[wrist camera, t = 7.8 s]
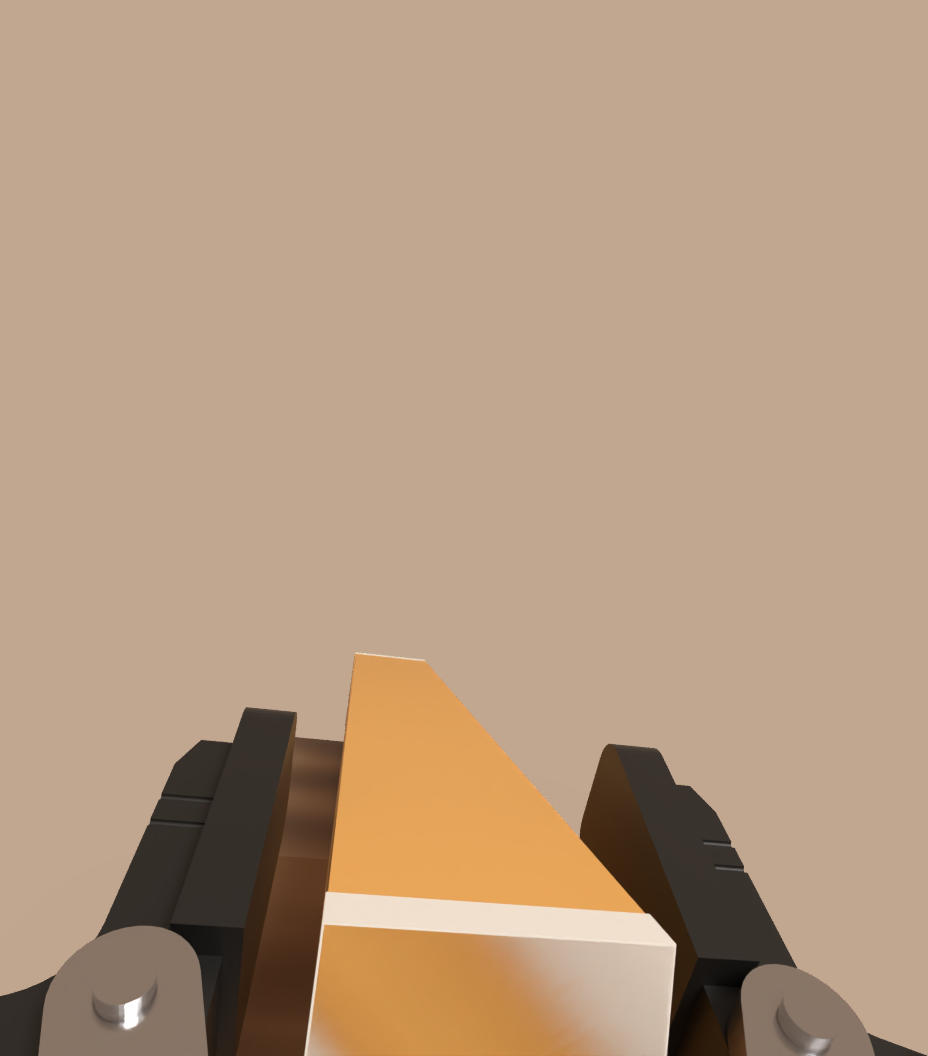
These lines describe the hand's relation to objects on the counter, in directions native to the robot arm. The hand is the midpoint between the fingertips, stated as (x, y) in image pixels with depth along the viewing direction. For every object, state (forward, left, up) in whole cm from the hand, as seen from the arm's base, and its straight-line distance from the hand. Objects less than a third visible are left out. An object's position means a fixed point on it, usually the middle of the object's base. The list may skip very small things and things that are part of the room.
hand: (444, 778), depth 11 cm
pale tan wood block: (-6, +6, -3) cm, 9 cm away
